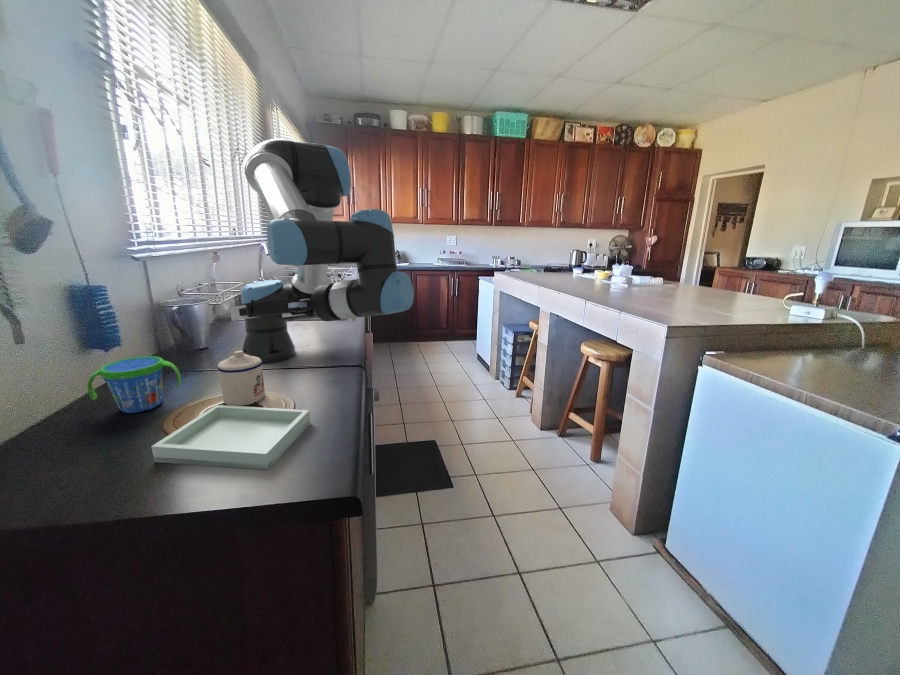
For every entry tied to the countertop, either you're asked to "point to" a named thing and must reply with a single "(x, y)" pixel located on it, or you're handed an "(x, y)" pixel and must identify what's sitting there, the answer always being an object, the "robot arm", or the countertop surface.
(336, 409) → the countertop surface
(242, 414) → the sage tray
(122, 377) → the snack cup
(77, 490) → the countertop surface
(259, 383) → the teacup with lid
